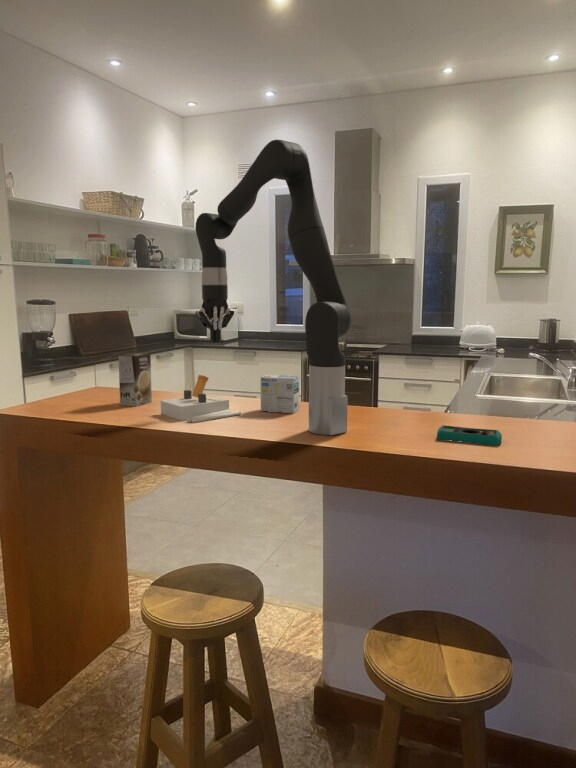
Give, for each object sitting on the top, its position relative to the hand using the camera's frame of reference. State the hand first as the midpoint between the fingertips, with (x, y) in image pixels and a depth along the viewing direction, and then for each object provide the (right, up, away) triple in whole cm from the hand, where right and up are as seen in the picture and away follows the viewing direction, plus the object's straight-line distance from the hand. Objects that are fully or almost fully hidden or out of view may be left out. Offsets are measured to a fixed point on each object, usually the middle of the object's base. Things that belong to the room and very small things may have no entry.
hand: (215, 342), depth 170 cm
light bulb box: (+19, -21, +3) cm, 29 cm away
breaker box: (-6, -21, -2) cm, 22 cm away
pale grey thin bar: (-1, -22, -7) cm, 23 cm away
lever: (-6, -17, -2) cm, 18 cm away
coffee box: (-27, -19, +14) cm, 36 cm away
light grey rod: (+1, -22, -9) cm, 24 cm away
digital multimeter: (+66, -27, -31) cm, 78 cm away
